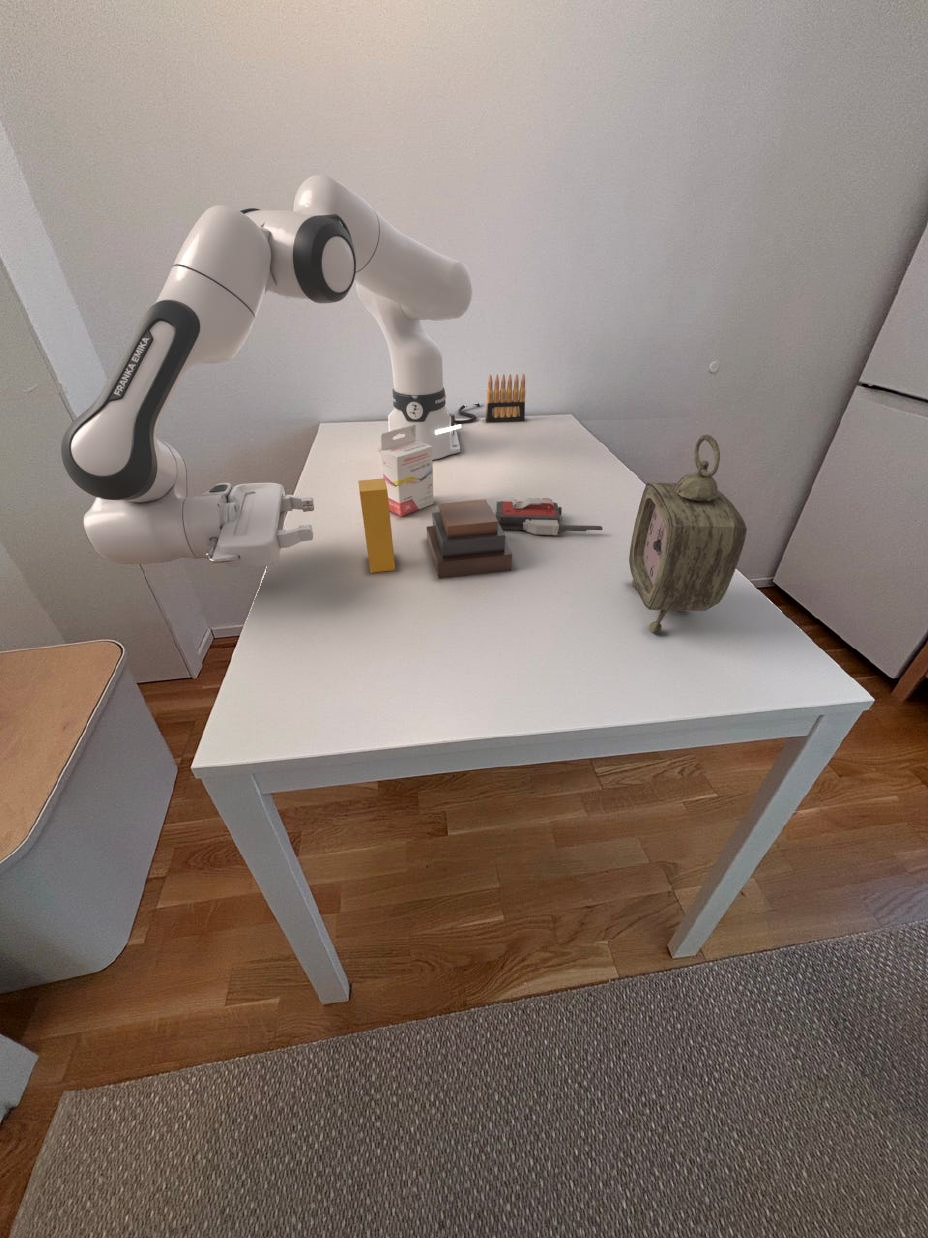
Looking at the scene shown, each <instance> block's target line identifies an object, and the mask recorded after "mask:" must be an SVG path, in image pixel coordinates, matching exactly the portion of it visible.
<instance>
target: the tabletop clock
mask: <svg viewBox="0 0 928 1238" xmlns="http://www.w3.org/2000/svg"><path fill="white" fill-rule="evenodd" d="M704 441H706V442H707V443H708V444H709V445H710V446H711V448H712V451H713V456H714V464H713V465H714V466H713V469H712V471H709V470H708V469H709V464H710V463H709V461H707V460H701V458H700V455H699V451H700V446H701V444H702V443H703V442H704ZM693 460H694V465H695V467H696V469H697V471H696V472H690V473H688V474H685V475H684V476H682V477H681V478H680V479H679V480H678V481H677V482H647V483H646V484H645V486H644V489H643V493H642V495H641V498H640V503H639V506H638V509H637V513H636V518H635V521H634V527H633V532H632V536H631V543H630V548H629V556H628V558H629V559H628V562H629V569H630V573H631V577H632V580H631V586H632V587H633V588H634V589H636V591H637V593H638V595H639V597H640V599H641V601H642V603H643V605H644V607H645V608H646V609H648V610H650V611H659V612H658V615H657V618H656V621H652V622H650V624H649V627H648V629H649V631H650V632H651V633H652V634H658V633H660V632H661V631H662V628H663V627H662V624H661V622H662V621H663V620H664V618H665V616H666V614H667V613H668V612H669V611H677V612H678V611H687V612H688V611H690V612H691V611H693V612H694V611H695V612H706V611H708V610H709V609H711V608H713V607H715V606H716V605H718V604H720V603H721V601H722V600H723V599H724V597H725V595H726V593H727V591H728V588H729V586H730V583H731V582H732V579H733V576H734V574H735V573H736V569H737V566H738V564H739V560H740V557H741V554H742V551H743V548H744V545H745V541H746V536H747V530H748V529H747V526H746V521H745V519H744V517H743V516H742V515H741V513H740V512H739V511H738V509H737V508H736V506H735V505H734V504H733V502H732V501H731V500H730V499H729V498H728V497H727V496H725V494H724V493H723V492H721V491H720V490H719V489H718V488H719V487H718V484H717V483H718V482H717V481H716V480H715V478H714V476H715V475H716V473H717V472H718V469H719V465H720V462H721V450H720V447H719V443H718V442H717V440H716V439H715V438H714V437H713V436H712V435H710V434H703V435H701V436H700V437H699V438H698V440H697V441H696V444H695V446H694V459H693Z"/></svg>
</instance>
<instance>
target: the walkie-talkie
mask: <svg viewBox="0 0 928 1238" xmlns="http://www.w3.org/2000/svg"><path fill="white" fill-rule="evenodd" d="M558 504H559V503H558V502H554V501H553V500H552V499H551V498H548V497H547V498H546V497H545V498H544V497H543V498H539V497H529V498H527V499H526V500H525V499H524V501H517V499H512V501H509V500H507V501H505V500H504V501H503V500H501V501H496V509H495V511H496V512H495V517H496V518H497V520H498V523H499V525H500V526H501V528H502V530H509V531H510V530H511V531H513V530H514V531H525V532H527V533H530V534H533V535H548V536H549V535H551V536H558V535H559V532H560V533H561V532H562V533H564V532H587V531H603V530H604V528H603V526H602V525H577V524H576V525H575V524H574V525H573V524H565V523H562V522H560V521H561V520H563V515H562V514H563V508H562V507H561V506H559V505H558Z"/></svg>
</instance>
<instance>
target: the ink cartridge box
mask: <svg viewBox="0 0 928 1238" xmlns="http://www.w3.org/2000/svg"><path fill="white" fill-rule="evenodd" d="M399 433H400V434H405V436H404V437H402V438H398V439H395V440H393V437H394V436H397V435H398V434H399ZM380 445H381V447H380V448H381V450H380V456H381V457H380V458H381V467H382V468H381V469H382V477H383V478H385V481H386V486H387V491H388V501H389V511H390V512H391V513H393V514H395V515H397V516H399V517H403V516H407V515H409V514H411V513H415V512H417V511H419V510H421V509H425V508H427V507H430V506H432V505H434V502H435V501H434V476H433V475H434V471H433V470H434V467H433V465H434V464H433V460H432V446H431V445H428V444H425V443H423V442H420V441H417V440H416V425H411V426H407V427H403V428H400V429H396V430H392V431H389V430H388V431H386V432H382V433H381V435H380ZM383 478H382V479H383Z"/></svg>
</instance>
